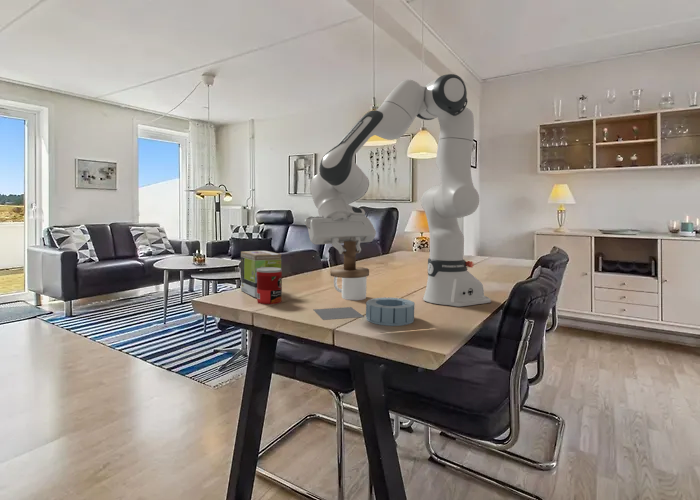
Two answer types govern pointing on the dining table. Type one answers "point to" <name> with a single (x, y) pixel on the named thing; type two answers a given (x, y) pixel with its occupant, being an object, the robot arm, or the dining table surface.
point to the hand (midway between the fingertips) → (350, 252)
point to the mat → (337, 313)
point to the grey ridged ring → (390, 311)
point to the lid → (349, 264)
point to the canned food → (269, 285)
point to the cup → (352, 288)
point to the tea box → (250, 266)
